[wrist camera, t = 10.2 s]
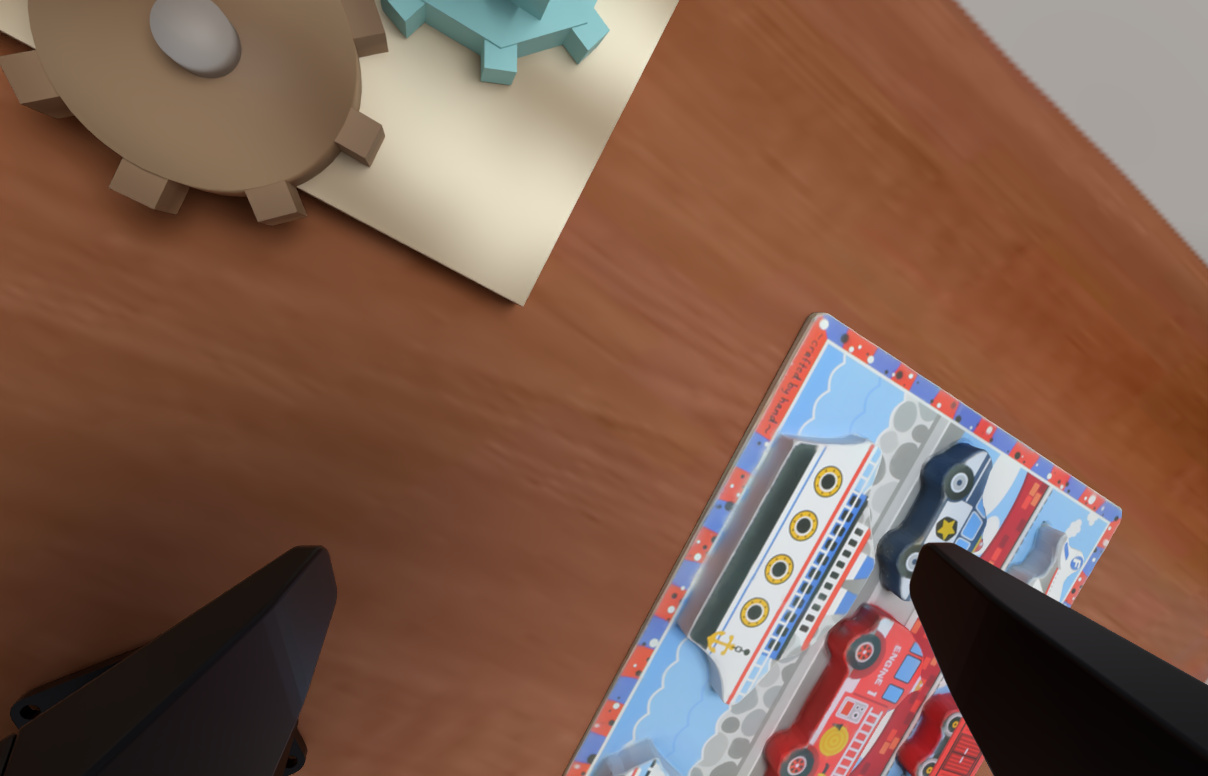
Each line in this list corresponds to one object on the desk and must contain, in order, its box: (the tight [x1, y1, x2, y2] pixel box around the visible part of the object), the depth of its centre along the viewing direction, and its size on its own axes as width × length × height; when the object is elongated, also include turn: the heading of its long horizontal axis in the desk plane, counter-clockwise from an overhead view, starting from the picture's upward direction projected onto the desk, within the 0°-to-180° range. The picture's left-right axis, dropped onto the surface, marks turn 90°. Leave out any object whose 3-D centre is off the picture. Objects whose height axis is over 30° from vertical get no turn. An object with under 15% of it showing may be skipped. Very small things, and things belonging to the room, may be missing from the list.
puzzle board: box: [562, 312, 1122, 776], centre depth 28 cm, size 30×23×3 cm
